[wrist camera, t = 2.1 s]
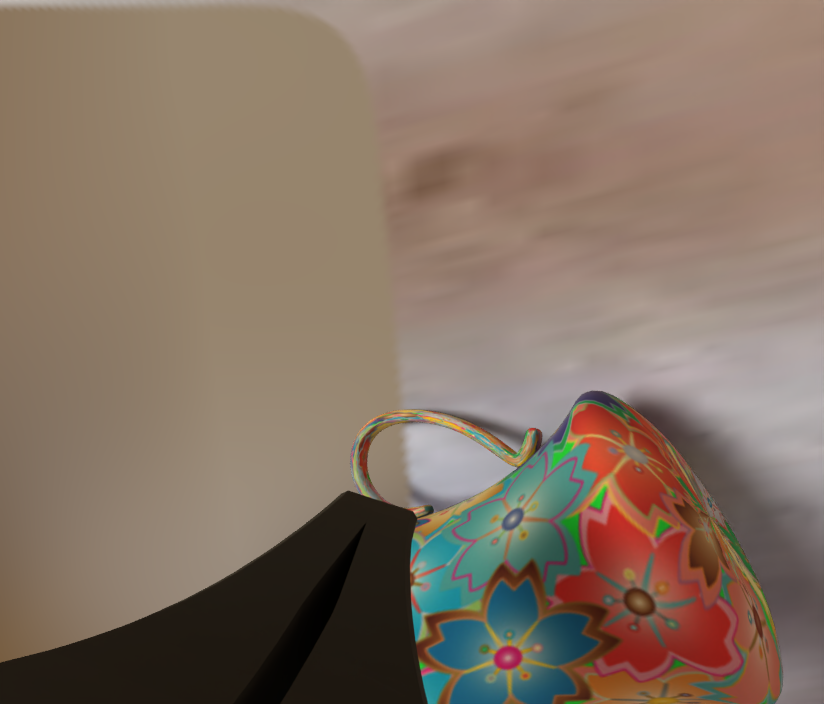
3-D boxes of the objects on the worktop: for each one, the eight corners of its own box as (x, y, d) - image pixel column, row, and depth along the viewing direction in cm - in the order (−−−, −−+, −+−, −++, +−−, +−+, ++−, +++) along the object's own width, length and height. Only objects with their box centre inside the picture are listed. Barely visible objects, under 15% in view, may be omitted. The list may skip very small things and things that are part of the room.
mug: (815, 769, 12) (356, 923, 16) (829, 667, 20) (518, 787, 24) (507, 237, 17) (215, 451, 21) (614, 322, 25) (387, 466, 29)
